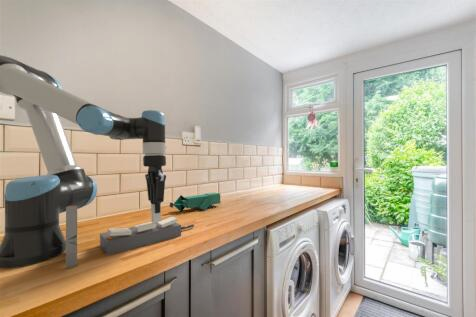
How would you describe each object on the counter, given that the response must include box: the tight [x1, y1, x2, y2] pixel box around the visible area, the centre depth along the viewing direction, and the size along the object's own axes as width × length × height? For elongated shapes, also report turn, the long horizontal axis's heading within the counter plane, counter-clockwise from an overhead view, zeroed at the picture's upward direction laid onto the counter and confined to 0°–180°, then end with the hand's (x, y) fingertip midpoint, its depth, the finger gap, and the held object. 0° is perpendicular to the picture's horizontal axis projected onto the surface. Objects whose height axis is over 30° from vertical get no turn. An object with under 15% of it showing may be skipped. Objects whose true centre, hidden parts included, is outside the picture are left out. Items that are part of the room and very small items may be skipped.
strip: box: [99, 222, 195, 256], centre depth 78 cm, size 32×10×4 cm, turn 133°
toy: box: [169, 191, 221, 213], centre depth 123 cm, size 12×10×30 cm
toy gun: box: [65, 205, 78, 270], centre depth 61 cm, size 2×16×15 cm
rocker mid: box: [133, 221, 156, 232], centre depth 74 cm, size 6×4×1 cm, turn 133°
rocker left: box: [106, 227, 132, 236], centre depth 68 cm, size 6×4×1 cm, turn 133°
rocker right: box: [157, 216, 178, 228], centre depth 79 cm, size 6×4×1 cm, turn 133°
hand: (156, 221), depth 76 cm, fingers closed
